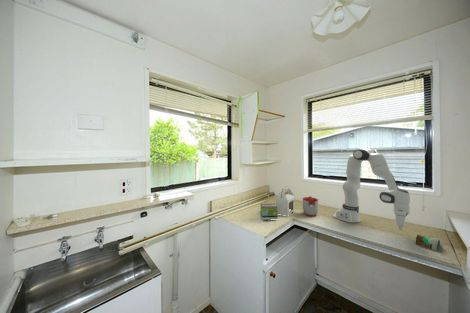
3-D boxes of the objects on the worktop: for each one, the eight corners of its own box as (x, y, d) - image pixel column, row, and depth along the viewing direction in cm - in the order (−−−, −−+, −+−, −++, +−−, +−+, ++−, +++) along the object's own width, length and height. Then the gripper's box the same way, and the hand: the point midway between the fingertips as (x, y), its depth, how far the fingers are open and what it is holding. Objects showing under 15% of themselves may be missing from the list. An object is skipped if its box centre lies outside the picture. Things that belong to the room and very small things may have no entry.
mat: (419, 246, 119) (419, 245, 119) (420, 238, 129) (420, 237, 129) (442, 252, 111) (442, 252, 111) (441, 243, 122) (441, 243, 122)
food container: (419, 231, 128) (440, 236, 119) (419, 239, 128) (440, 245, 119) (414, 235, 121) (436, 241, 113) (414, 244, 121) (436, 251, 113)
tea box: (262, 221, 167) (262, 206, 167) (260, 217, 177) (260, 203, 177) (277, 220, 167) (277, 206, 167) (274, 216, 177) (274, 202, 177)
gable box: (287, 217, 176) (287, 190, 175) (275, 214, 184) (275, 188, 183) (294, 210, 194) (294, 186, 193) (283, 208, 202) (283, 185, 201)
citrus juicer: (303, 217, 174) (303, 198, 173) (301, 211, 191) (301, 194, 190) (320, 218, 170) (320, 199, 169) (316, 212, 187) (316, 194, 186)
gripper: (397, 206, 140) (397, 222, 141) (394, 212, 127) (393, 230, 127) (408, 208, 136) (408, 225, 136) (406, 214, 122) (405, 233, 123)
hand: (401, 227), depth 132 cm, fingers open, 8 cm apart
